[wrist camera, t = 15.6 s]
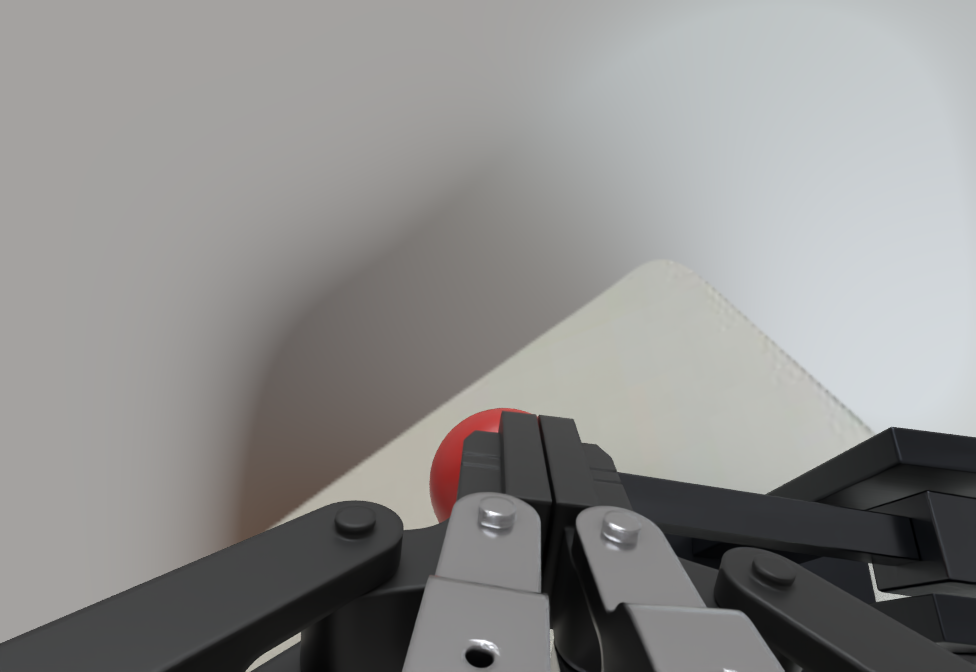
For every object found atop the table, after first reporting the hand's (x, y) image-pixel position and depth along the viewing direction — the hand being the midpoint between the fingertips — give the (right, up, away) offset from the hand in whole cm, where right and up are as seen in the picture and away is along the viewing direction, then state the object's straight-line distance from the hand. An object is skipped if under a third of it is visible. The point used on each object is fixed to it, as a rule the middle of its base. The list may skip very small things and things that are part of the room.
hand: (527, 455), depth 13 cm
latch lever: (+5, -3, +4) cm, 7 cm away
